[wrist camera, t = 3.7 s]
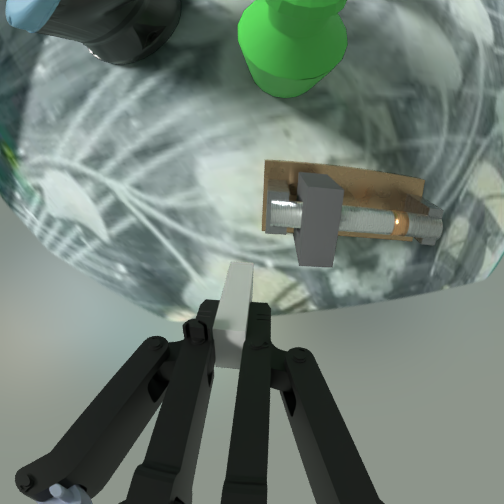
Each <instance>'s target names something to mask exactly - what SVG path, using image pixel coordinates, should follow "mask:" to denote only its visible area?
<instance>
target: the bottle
mask: <svg viewBox="0 0 504 504" xmlns="http://www.w3.org/2000/svg"><path fill="white" fill-rule="evenodd" d="M346 1H347V0H255V1H254V2H253V3H252V4H251V5H250V6H249V7H248V8H247V9H245V10H244V12H243V14H242V17H241V19H240V21H239V24H238V42H239V45H240V47H241V50H242V52H243V55H244V58H245V60H246V63H247V65H248V68H249V70H250V73H251V75H252V77H253V80H254V82H255V83H256V84H257V85H258V86H259V87H260V88H261V89H262V90H263V91H264V92H266V93H268V94H270V95H272V96H275V97H281V98H290V97H297V96H299V95H301V94H303V93H305V92H307V91H308V90H309V89H310V88H312V87H313V86H314V85H315V84H316V83H317V82H319V81H320V80H321V79H322V78H323V77H324V76H326V75H327V74H328V73H329V72H330V71H331V70H332V69H333V68H334V67H335V66H336V65H337V64H338V63H339V62H340V61H341V60H342V59H343V56H344V53H345V50H346V47H347V33H346V28H345V26H344V24H343V22H342V20H341V18H340V16H339V15H338V14H337V13H338V12H339V11H341V10H342V9H343V8H344V6H345V4H346Z"/></svg>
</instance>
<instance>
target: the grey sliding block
mask: <svg viewBox="0 0 504 504" xmlns="http://www.w3.org/2000/svg"><path fill="white" fill-rule="evenodd" d="M343 196H344V189H343V188H342V187H341V186H339V185H338V184H337V183H336V182H335V181H334V180H333V179H332V178H331V177H330V176H328V175H327V174H318V173H306V172H299V174H298V187H297V199H296V201H300V202H303V208H302V218H301V228H294V233H293V236H294V241H295V246H296V252H297V257H298V262H299V266H314V267H332V266H333V261H334V255H335V249H336V243H337V237H338V231H339V225H340V218H341V211H342V204H343Z"/></svg>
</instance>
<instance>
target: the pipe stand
mask: <svg viewBox="0 0 504 504" xmlns="http://www.w3.org/2000/svg"><path fill="white" fill-rule="evenodd" d="M299 172H306V173H318V174H327V175H328V176H330V177H331V178H332V179H333V180H334V181H335V182H336V183H337V184H338V185H339V186H341V187H342V188H343V189H344V196H343V204H342V211H341V218H340V225H339V231H338V236H351V237H365V238H378V239H390V240H402V241H412V240H413V237H414V238H415V239H416V240H417V241H418V242H419V243H420V244H424V245H435V243H436V239H439V238H440V236H441V234H442V231H443V224H442V220H441V219H442V215H443V210H442V209H441V208H439V207H437V206H436V205H434V204H433V203H431V202H429V201H428V200H426V199H424V198H423V197H422V194H423V188H424V182H425V180H423V179H420V178H415V177H410V176H405V175H399V174H393V173H387V172H381V171H375V170H368V169H361V168H353V167H345V166H337V165H328V164H318V163H307V162H295V161H280V160H265V171H264V194H263V215H262V231H265V233H267V234H284V235H286V232H291V233H294V228H301V218H302V208H303V202H300V201H296V199H297V187H298V174H299Z"/></svg>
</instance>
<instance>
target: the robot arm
mask: <svg viewBox="0 0 504 504" xmlns="http://www.w3.org/2000/svg"><path fill="white" fill-rule="evenodd" d="M180 14H181V3H180V0H7V4H6V18H7V21H8V23H9V24H10V25H12V26H13V27H16V28H20V29H24V30H27V31H28V32H29V33H40V34H45V35H51V36H56V37H60V38H65V39H69V40H74V41H78V42H82V43H83V44H84V45H85V46H87V47H88V49H89V51H90V52H91V53H92V54H93V55H94V56H95V57H96V58H98V59H99V60H102V61H104V62H108V63H112V64H129V63H133V62H136V61H138V60H141V59H143V58H145V57H147V56H149V55H150V54H152V53H153V52H155V51H156V50H157V49H158V48H160V47H161V46H162V45H163V44H164V43H165V42H166V41H167V40H168V38H169V37H170V36H171V34H172V33H173V31H174V30H175V28H176V26H177V24H178V22H179V19H180ZM253 267H254V263H245V262H230V266H229V269H228V273H227V277H226V280H225V284H224V288H223V291H222V295H221V299H220V300H208V299H206V300H205V301H204V302H203V303H202V304H201V305H200V308H199V311H198V313H197V316H196V319H191V320H188V321H187V322H185V323H184V324H183V333H184V340H181V341H177V342H169V343H168V341H167V340H166V339H165V338H163V337H161V336H152V337H149V338H147V339H146V340H145V341H144V342H143V343H142V344H141V345H140V346H139V348H138V349H137V350H136V351H135V352H134V353H133V355H132V356H131V357H130V358H129V359H128V360H127V361H126V363H125V364H124V365H123V366H122V367H121V368H120V369H119V371H118V372H117V373H116V374H115V375H114V376H113V378H112V379H111V380H110V381H109V382H108V383H107V385H106V386H105V387H104V388H103V389H102V391H101V392H100V393H99V394H98V395H97V396H96V398H95V399H94V400H93V401H92V402H91V403H90V405H89V406H88V407H87V408H86V409H85V411H84V412H83V413H82V414H81V415H80V417H79V418H78V419H77V420H76V422H75V423H74V424H73V425H72V426H71V427H70V429H69V430H68V431H67V433H66V434H65V435H64V436H63V437H62V439H61V440H60V441H59V442H58V443H57V445H56V446H55V447H54V449H53V450H52V451H51V452H50V453H48V454H47V455H44V456H43V457H41V458H39V459H37V460H35V461H34V462H32V463H30V464H28V465H26V466H25V467H22V468H21V469H19V470H18V471H17V473H16V475H15V482H16V486H17V487H18V489H19V490H20V492H22V493H23V494H24V495H26V496H28V497H30V498H32V499H33V500H35V501H36V502H37V504H92V501H91V499H92V498H93V497H94V496H96V495H97V494H98V493H99V492H100V491H101V490H102V489H103V487H104V486H105V485H106V484H107V482H108V481H109V480H110V478H111V476H112V475H113V473H114V472H115V470H116V469H117V468H118V466H119V465H120V463H121V462H122V461H123V459H124V458H125V456H126V455H127V453H128V452H129V450H130V449H131V447H132V446H133V444H134V443H135V441H136V440H137V438H138V437H139V436H140V434H141V433H142V431H143V429H144V428H145V427H146V425H147V424H148V422H149V421H150V419H151V418H152V416H153V415H154V413H155V411H156V410H157V409H158V407H159V406H160V404H161V403H162V405H161V408H160V411H159V414H158V418H157V421H156V424H155V427H154V430H153V433H152V436H151V440H150V443H149V446H148V449H147V453H146V456H145V459H144V462H143V463H142V464H141V465H139V466H137V468H136V470H135V472H134V475H133V478H132V481H131V485H130V488H129V491H128V495H127V499H126V500H125V501H122V502H121V503H119V504H192V485H193V480H194V475H195V469H196V464H197V459H198V454H199V449H200V443H201V438H202V433H203V428H204V423H205V418H206V413H207V408H208V403H209V398H210V393H211V388H212V384H213V379H214V365H216V367H222V368H233V369H240V372H239V380H238V387H237V396H236V403H235V410H234V418H233V426H232V433H231V441H230V449H229V456H228V463H227V471H226V478H225V481H224V485H223V490H222V497H221V504H267V464H268V440H269V411H270V388H274V389H277V390H280V394H281V397H282V400H283V403H284V407H285V410H286V413H287V416H288V419H289V422H290V425H291V428H292V431H293V434H294V437H295V441H296V443H297V447H298V450H299V453H300V456H301V459H302V462H303V465H304V468H305V471H306V474H307V477H308V480H309V483H310V486H311V488H312V492H313V495H314V497H315V500H316V503H317V504H384V503H383V502H382V501H381V500H380V499H379V497H378V495H377V493H376V490H375V488H374V486H373V484H372V481H371V480H370V477H369V475H368V473H367V471H366V468H365V466H364V464H363V462H362V459H361V457H360V455H359V453H358V451H357V449H356V446H355V444H354V442H353V440H352V437H351V435H350V433H349V431H348V429H347V427H346V424H345V422H344V420H343V418H342V416H341V414H340V412H339V410H338V407H337V405H336V403H335V401H334V399H333V396H332V394H331V392H330V390H329V388H328V386H327V384H326V381H325V379H324V377H323V375H322V373H321V371H320V369H319V367H318V364H317V362H316V360H315V358H314V356H313V354H312V353H311V352H310V351H309V350H307V349H305V348H301V347H296V348H292V349H290V350H289V351H283V350H280V349H278V348H276V347H275V346H274V345H273V344H272V342H271V338H270V337H271V308H270V307H269V305H268V303H259V302H252V292H253ZM162 401H163V402H162Z"/></svg>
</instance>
